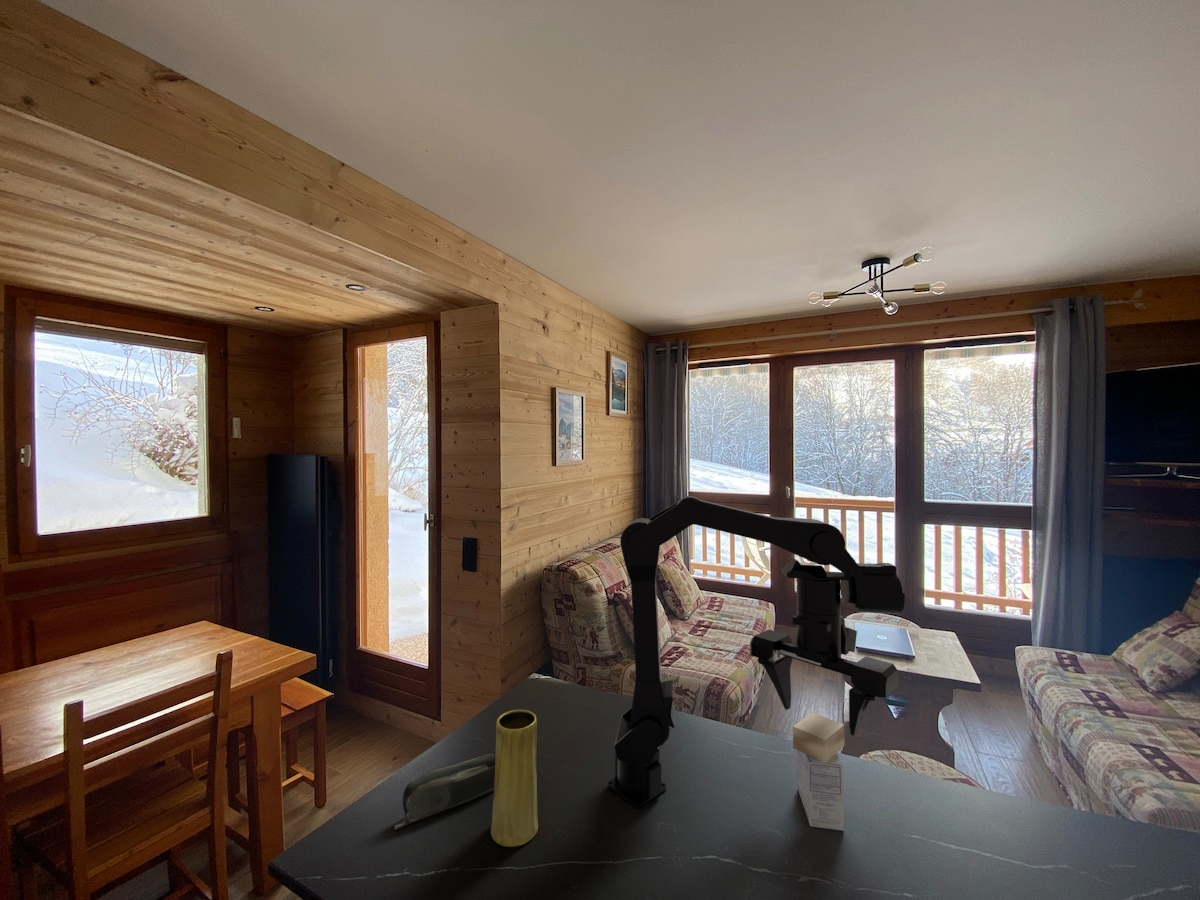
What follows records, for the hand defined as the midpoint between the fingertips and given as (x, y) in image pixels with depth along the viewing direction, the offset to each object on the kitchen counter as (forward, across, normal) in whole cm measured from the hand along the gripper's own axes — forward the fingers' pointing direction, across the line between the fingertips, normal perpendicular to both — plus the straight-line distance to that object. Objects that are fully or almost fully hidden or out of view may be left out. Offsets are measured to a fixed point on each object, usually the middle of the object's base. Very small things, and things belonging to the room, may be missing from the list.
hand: (819, 721), depth 68 cm
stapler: (+12, +35, +38) cm, 54 cm away
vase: (+12, +25, +34) cm, 44 cm away
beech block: (+4, 0, 0) cm, 4 cm away
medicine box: (+12, 0, 0) cm, 12 cm away
